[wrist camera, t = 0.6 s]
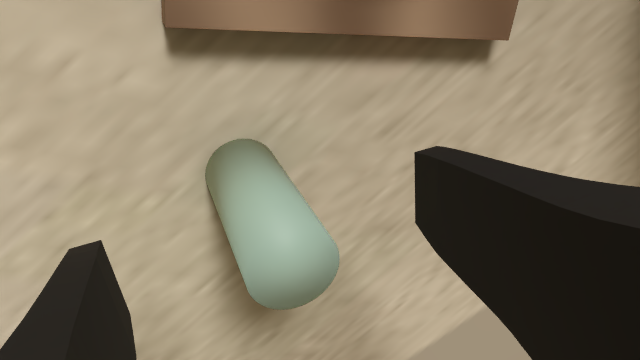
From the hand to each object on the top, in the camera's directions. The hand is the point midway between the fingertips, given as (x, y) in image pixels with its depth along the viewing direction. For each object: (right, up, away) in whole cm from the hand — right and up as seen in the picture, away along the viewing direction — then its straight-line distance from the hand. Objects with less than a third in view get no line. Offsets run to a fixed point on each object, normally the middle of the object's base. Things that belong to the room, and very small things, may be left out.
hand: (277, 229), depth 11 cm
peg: (-2, +1, +10) cm, 10 cm away
